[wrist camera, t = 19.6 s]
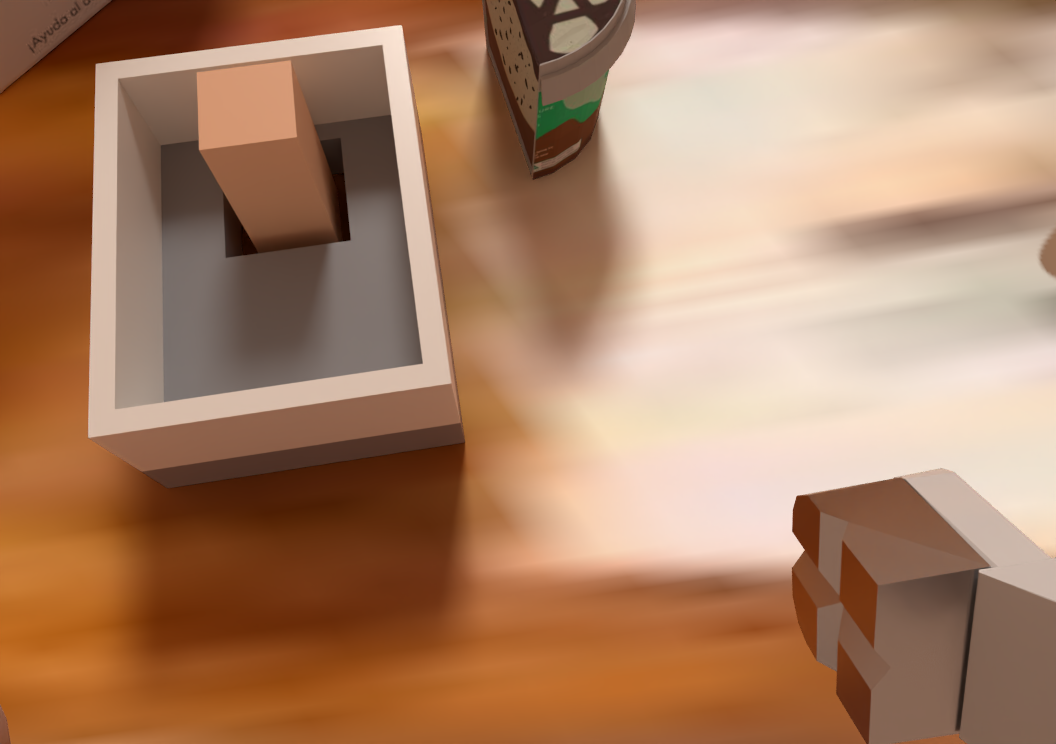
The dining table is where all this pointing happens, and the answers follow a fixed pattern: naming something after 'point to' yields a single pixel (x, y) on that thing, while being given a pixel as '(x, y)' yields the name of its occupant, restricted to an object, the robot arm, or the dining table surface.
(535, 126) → the food container
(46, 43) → the cereal box
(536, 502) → the dining table surface
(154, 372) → the socket box
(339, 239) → the peg
